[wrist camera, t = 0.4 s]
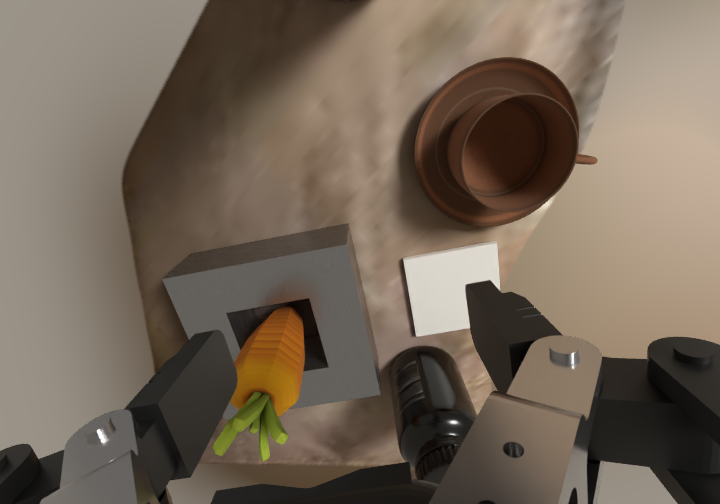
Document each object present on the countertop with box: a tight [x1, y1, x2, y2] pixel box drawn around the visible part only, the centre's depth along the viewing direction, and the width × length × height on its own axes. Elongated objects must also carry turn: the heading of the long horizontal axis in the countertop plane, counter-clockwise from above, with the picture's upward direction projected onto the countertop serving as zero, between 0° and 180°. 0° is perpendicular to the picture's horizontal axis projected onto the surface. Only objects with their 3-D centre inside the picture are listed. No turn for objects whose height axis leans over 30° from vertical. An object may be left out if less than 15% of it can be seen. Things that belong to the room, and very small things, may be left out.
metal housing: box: [162, 224, 381, 420], centre depth 32 cm, size 14×14×5 cm
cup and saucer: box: [414, 57, 597, 227], centre depth 26 cm, size 12×12×6 cm
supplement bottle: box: [390, 346, 477, 484], centre depth 31 cm, size 7×7×12 cm
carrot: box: [213, 306, 305, 461], centre depth 27 cm, size 5×5×15 cm
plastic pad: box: [403, 241, 500, 337], centre depth 33 cm, size 8×8×1 cm
